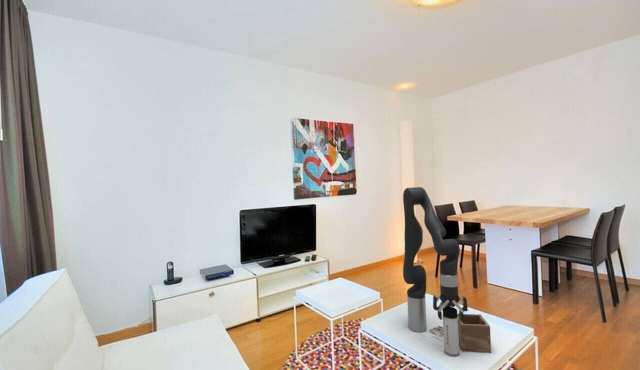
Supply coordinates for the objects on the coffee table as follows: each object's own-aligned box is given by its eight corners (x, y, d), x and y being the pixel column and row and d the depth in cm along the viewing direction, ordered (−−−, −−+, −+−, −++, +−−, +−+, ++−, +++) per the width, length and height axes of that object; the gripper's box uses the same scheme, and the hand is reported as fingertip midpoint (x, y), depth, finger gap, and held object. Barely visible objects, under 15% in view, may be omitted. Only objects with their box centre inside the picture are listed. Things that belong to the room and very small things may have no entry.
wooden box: (455, 337, 145) (454, 313, 146) (481, 339, 143) (480, 314, 143) (462, 351, 134) (461, 324, 134) (491, 352, 131) (490, 326, 131)
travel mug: (454, 348, 136) (452, 305, 137) (462, 356, 130) (460, 311, 130) (441, 348, 136) (439, 305, 136) (448, 357, 130) (446, 311, 130)
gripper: (463, 281, 135) (465, 316, 135) (430, 280, 138) (432, 315, 138) (468, 286, 128) (470, 324, 128) (433, 286, 130) (435, 322, 130)
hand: (450, 319), depth 133 cm, fingers open, 8 cm apart
